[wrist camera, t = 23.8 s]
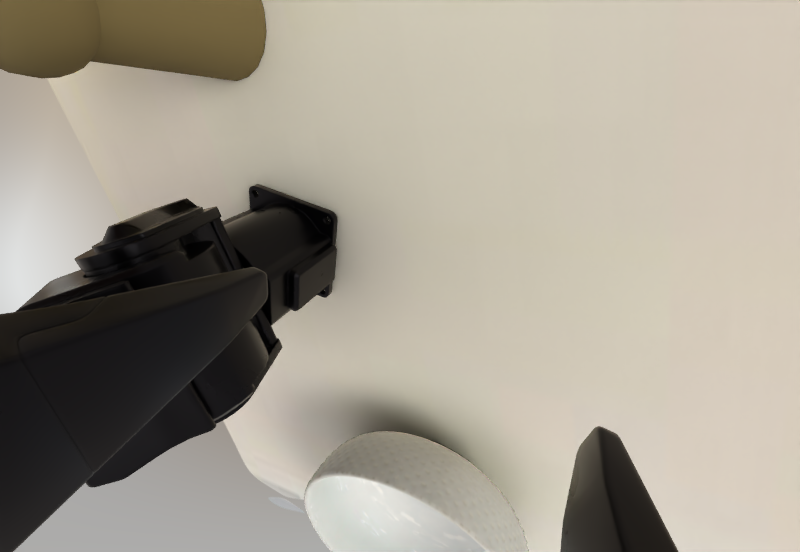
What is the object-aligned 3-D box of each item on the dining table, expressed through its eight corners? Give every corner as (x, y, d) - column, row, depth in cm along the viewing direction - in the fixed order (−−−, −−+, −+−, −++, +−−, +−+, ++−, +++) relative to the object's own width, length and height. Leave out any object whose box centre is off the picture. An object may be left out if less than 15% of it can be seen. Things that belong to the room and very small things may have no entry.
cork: (185, 65, 23) (-70, 67, 14) (171, -66, 19) (-178, -173, 10) (265, 94, 21) (39, 115, 12) (266, -42, 18) (-44, -142, 9)
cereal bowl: (329, 380, 31) (272, 449, 26) (538, 421, 24) (522, 529, 19) (370, 505, 39) (332, 581, 33) (540, 566, 31) (529, 676, 26)
